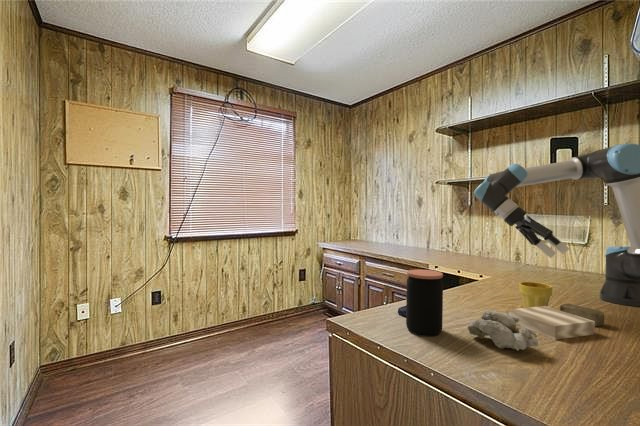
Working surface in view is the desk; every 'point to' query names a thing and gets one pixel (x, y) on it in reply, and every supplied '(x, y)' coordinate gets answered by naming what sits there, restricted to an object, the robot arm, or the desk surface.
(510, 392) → the desk surface
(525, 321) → the birch block
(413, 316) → the coffee jar
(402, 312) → the race car
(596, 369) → the desk surface
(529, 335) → the mineral
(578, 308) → the stone block
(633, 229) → the robot arm
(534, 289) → the plant pot
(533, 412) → the desk surface
